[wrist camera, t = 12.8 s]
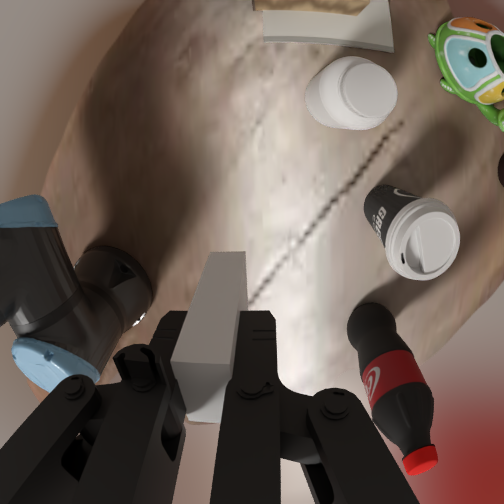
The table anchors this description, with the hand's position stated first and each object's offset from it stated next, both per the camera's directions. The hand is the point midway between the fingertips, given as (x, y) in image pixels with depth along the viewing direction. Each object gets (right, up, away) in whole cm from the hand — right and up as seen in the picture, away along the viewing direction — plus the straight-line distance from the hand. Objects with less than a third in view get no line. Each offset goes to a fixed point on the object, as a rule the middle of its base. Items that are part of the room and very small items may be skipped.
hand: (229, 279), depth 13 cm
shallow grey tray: (+11, +36, +16) cm, 41 cm away
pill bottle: (+12, +21, +22) cm, 33 cm away
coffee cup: (+20, +8, +28) cm, 36 cm away
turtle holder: (+33, +29, +18) cm, 48 cm away
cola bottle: (+21, -10, +36) cm, 43 cm away
